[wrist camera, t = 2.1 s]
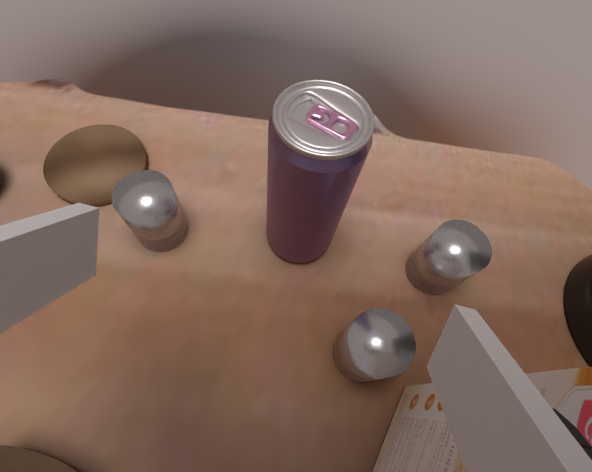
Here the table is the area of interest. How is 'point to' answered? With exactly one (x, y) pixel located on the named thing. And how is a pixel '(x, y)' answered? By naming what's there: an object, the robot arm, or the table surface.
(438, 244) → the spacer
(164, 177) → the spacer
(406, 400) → the coffeecake box
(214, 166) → the table surface
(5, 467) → the ceramic mug
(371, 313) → the cylinder
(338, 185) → the beverage can
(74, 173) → the coaster
